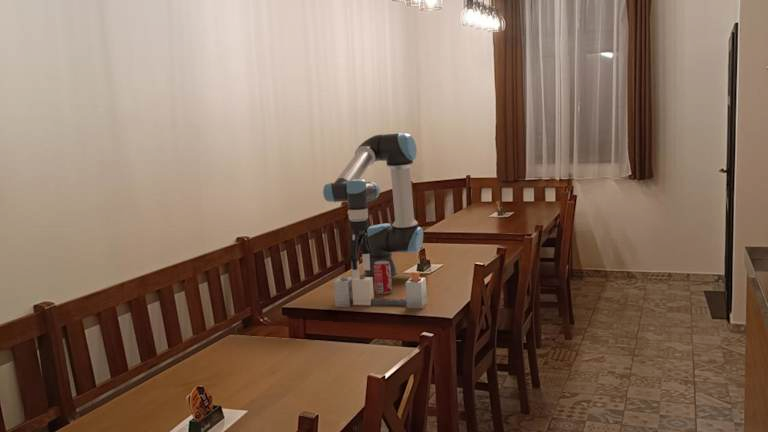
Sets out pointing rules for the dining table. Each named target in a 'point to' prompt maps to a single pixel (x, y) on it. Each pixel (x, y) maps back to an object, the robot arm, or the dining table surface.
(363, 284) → the carriage
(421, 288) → the rail and cabinets
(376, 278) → the soda can
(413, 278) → the plunger
